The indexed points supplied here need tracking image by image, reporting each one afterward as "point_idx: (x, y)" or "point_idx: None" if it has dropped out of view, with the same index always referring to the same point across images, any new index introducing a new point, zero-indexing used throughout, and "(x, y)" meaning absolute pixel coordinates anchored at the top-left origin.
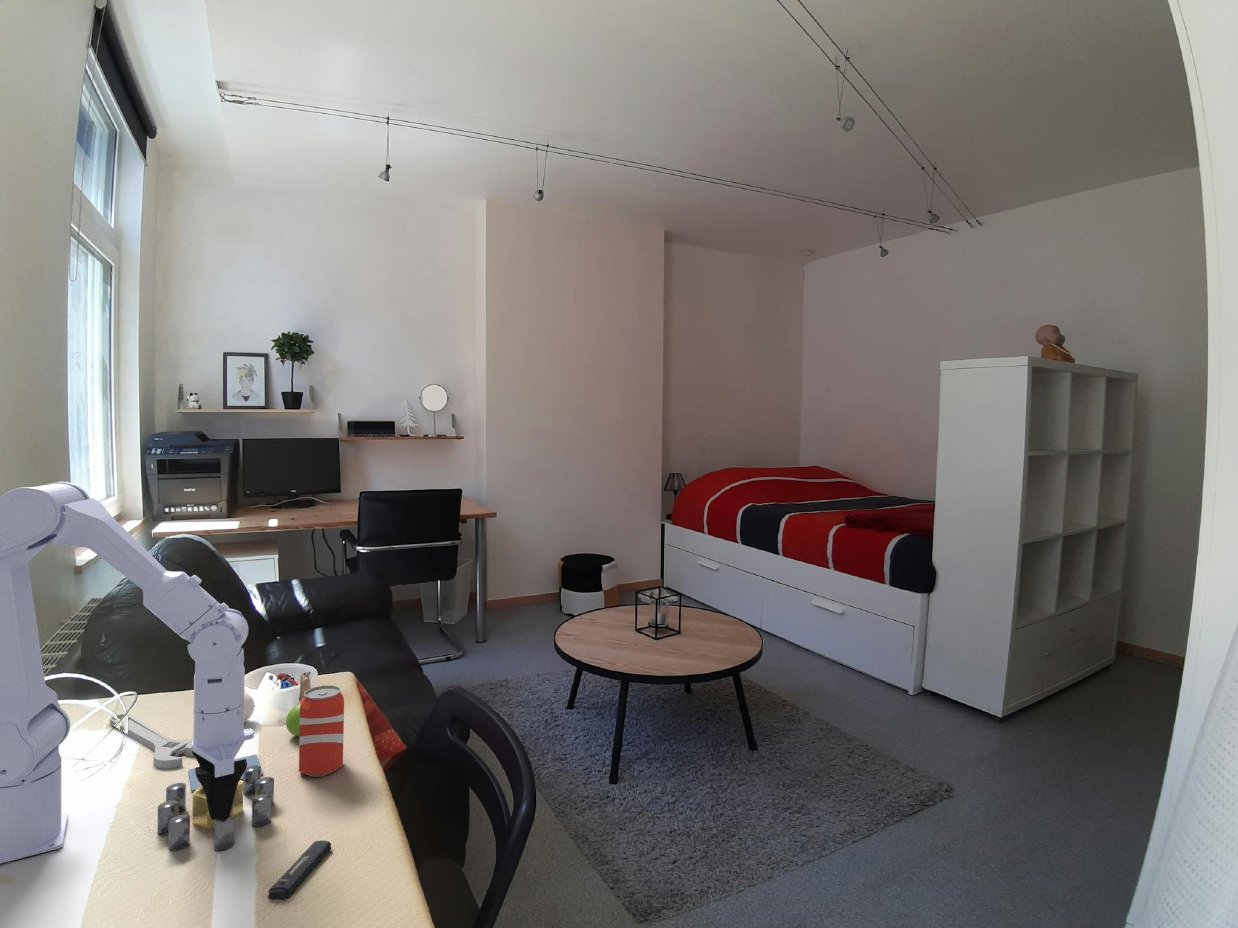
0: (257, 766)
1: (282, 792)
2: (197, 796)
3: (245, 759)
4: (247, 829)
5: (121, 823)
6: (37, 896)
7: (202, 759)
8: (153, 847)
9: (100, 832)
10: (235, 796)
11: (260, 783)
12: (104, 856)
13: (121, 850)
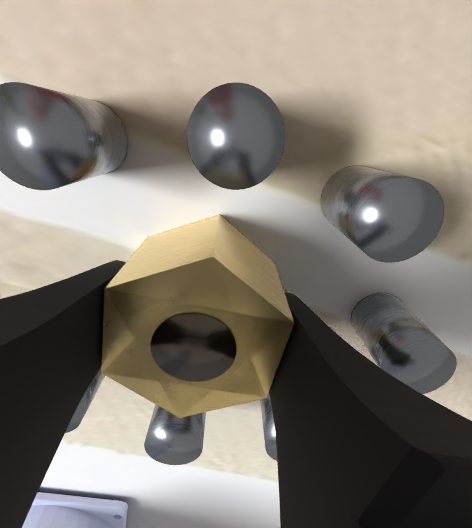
0: (5, 98)
1: (189, 29)
2: (208, 407)
3: (459, 472)
4: (354, 245)
5: (85, 432)
6: (260, 522)
7: (24, 497)
8: (245, 411)
9: (102, 458)
10: (273, 292)
11: (246, 170)
12: (209, 464)
13: (209, 446)
